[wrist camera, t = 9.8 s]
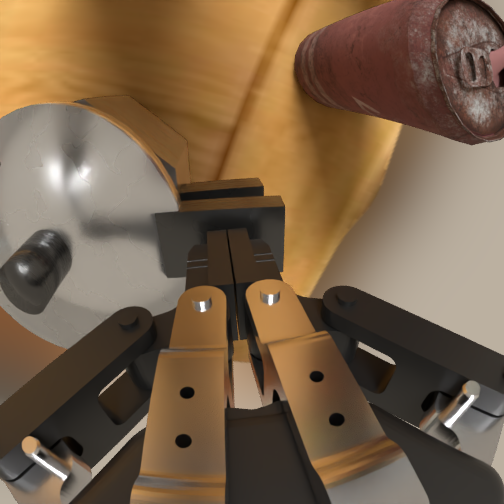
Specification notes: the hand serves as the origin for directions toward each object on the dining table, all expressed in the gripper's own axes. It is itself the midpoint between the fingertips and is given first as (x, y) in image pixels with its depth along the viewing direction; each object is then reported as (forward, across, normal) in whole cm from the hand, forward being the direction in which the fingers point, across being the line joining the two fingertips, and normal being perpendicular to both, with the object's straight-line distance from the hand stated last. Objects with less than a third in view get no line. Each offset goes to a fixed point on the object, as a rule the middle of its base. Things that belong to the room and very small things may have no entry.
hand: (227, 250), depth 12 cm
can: (+11, -9, -8) cm, 16 cm away
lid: (+2, +7, 0) cm, 7 cm away
